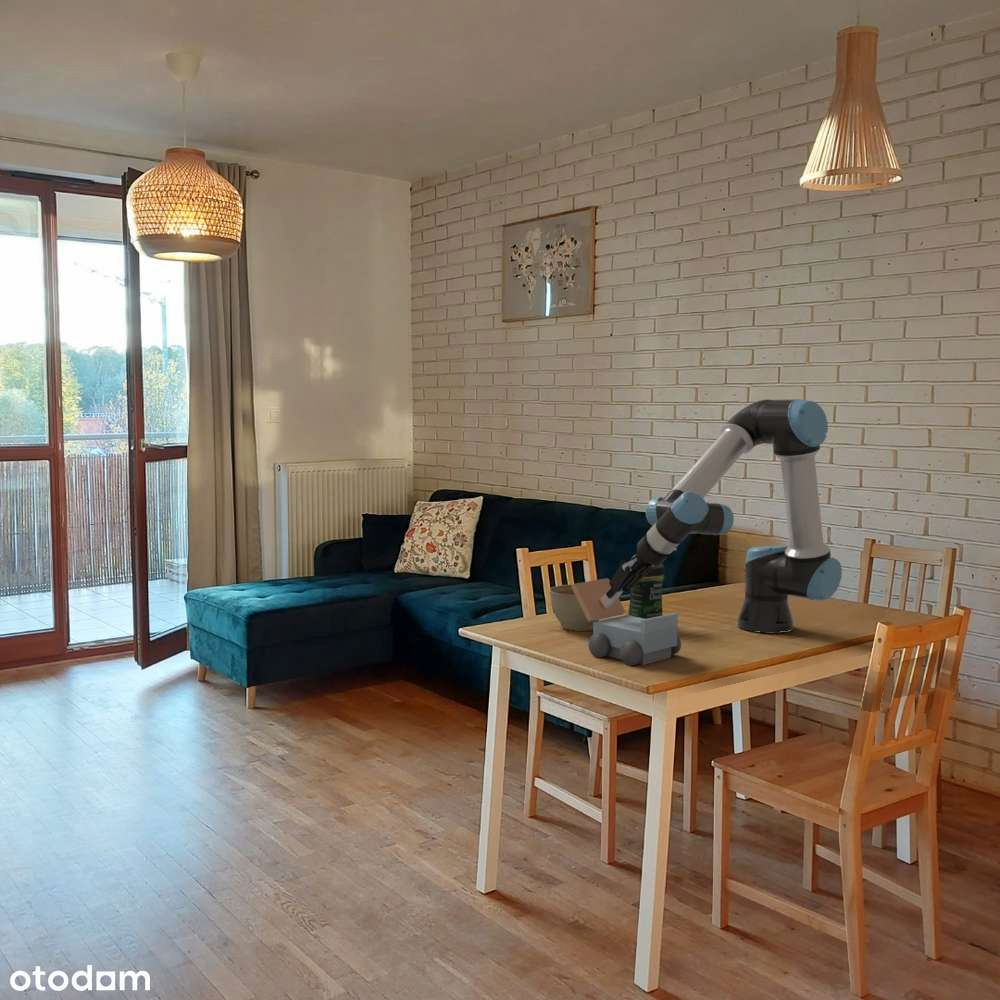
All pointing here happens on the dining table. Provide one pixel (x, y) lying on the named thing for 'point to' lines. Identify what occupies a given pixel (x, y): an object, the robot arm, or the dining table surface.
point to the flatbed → (636, 638)
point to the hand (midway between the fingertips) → (604, 603)
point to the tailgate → (596, 599)
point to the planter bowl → (568, 609)
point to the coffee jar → (647, 595)
